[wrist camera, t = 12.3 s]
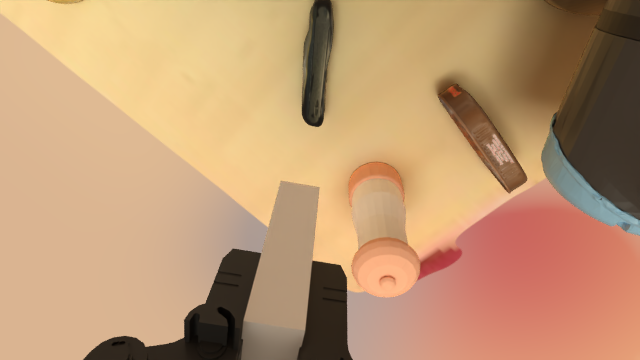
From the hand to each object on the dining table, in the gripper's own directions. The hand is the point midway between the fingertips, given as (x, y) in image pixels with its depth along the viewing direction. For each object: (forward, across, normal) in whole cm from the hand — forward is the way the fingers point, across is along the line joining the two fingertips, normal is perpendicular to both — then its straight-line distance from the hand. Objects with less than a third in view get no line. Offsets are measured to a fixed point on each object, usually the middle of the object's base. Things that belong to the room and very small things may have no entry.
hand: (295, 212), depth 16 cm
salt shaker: (+35, +10, -18) cm, 40 cm away
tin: (+35, +20, -7) cm, 41 cm away
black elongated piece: (+35, -1, -2) cm, 35 cm away
